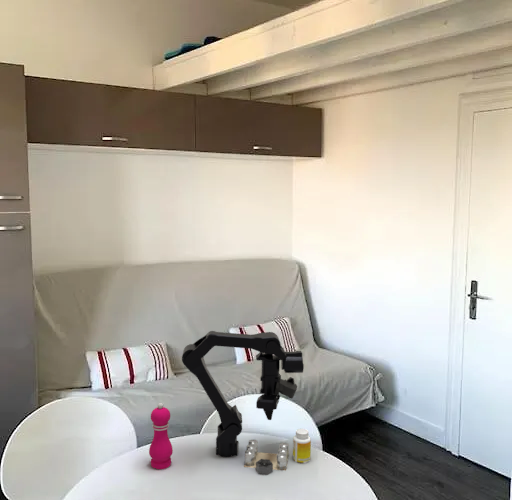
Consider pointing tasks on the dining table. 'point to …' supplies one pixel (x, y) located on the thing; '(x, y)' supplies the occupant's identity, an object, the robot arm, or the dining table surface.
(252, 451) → the spacers
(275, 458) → the board
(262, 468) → the nut
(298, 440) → the supplement bottle
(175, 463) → the dining table surface
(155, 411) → the pepper mill
